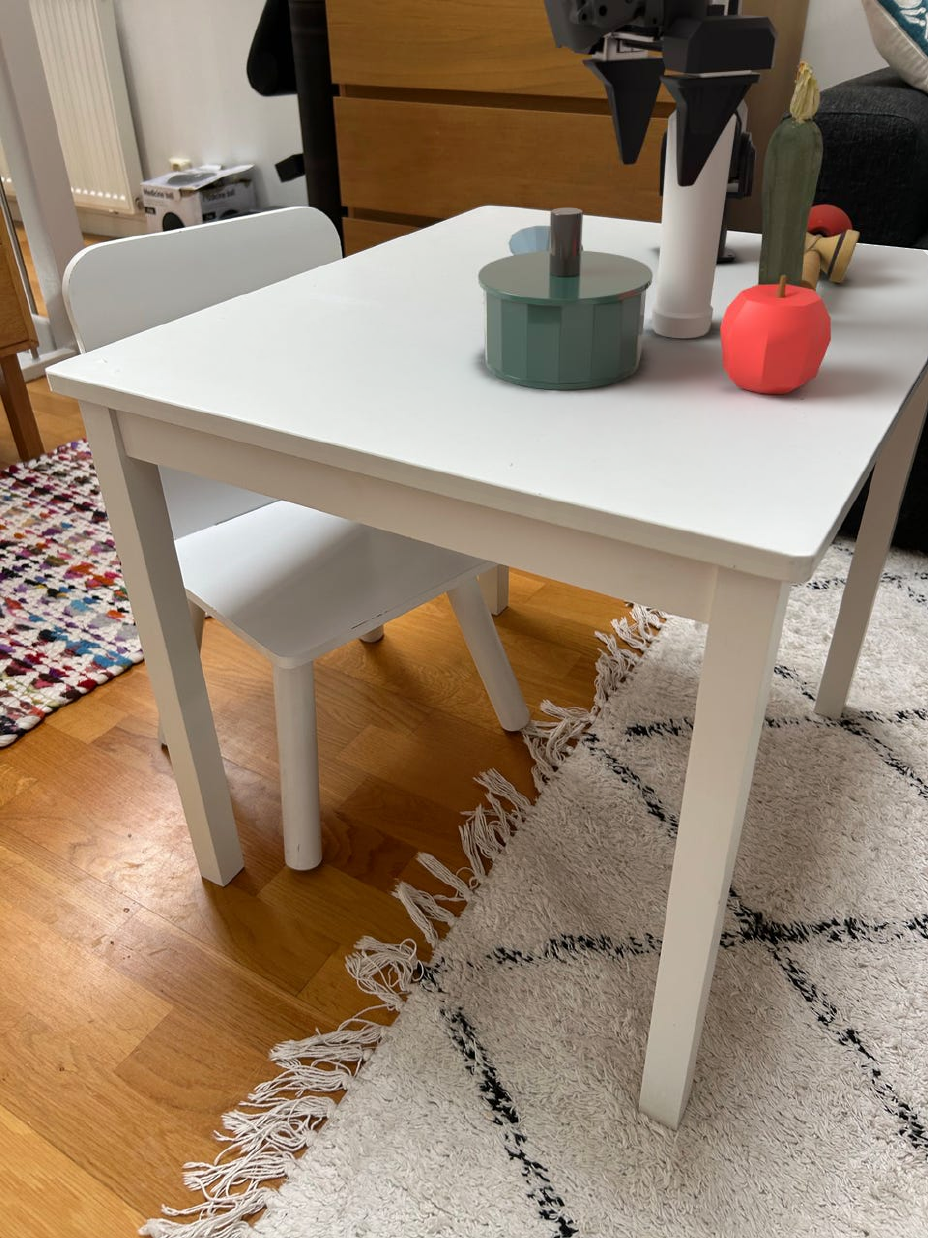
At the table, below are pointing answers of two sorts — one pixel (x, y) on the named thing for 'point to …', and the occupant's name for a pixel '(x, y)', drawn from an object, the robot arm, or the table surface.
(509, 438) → the table surface
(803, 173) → the vegetable
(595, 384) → the pot
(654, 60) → the robot arm
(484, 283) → the lid
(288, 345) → the table surface
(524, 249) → the gemstone
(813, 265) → the kendama
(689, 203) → the bottle
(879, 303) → the table surface
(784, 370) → the apple
